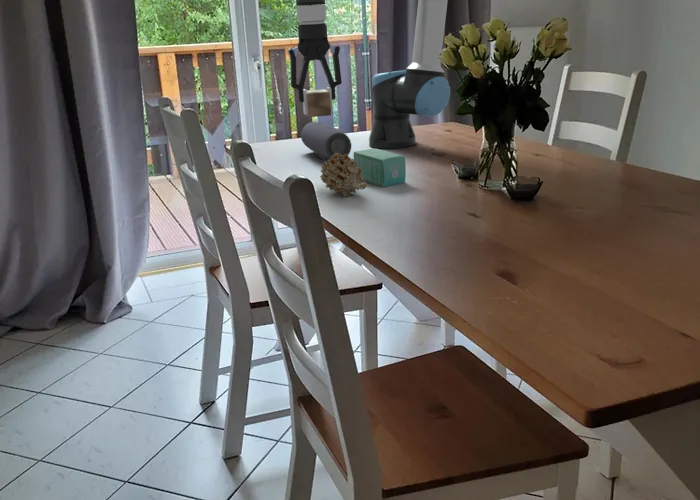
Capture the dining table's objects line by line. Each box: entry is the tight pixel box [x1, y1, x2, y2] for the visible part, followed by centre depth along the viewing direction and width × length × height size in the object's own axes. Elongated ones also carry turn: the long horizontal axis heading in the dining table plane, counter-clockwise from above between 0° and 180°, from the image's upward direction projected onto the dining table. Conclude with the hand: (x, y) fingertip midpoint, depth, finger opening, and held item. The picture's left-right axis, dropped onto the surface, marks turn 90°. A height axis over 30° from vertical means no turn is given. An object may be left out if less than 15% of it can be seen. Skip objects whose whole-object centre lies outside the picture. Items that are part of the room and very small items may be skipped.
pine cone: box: [319, 153, 368, 197], centre depth 169 cm, size 22×10×10 cm, turn 28°
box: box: [353, 147, 407, 188], centre depth 183 cm, size 7×14×8 cm, turn 34°
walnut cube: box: [306, 88, 332, 118], centre depth 187 cm, size 6×6×6 cm
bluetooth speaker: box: [300, 121, 352, 162], centre depth 212 cm, size 23×9×10 cm, turn 22°
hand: (318, 113), depth 188 cm, fingers closed on walnut cube, 6 cm apart
